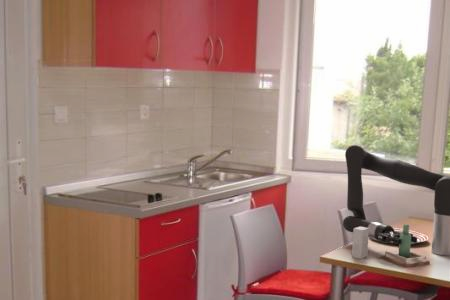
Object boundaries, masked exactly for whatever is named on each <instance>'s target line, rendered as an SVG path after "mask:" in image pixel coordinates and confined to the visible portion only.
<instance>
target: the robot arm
mask: <svg viewBox="0 0 450 300" xmlns="http://www.w3.org/2000/svg"><path fill="white" fill-rule="evenodd" d="M344 156H345V162H346V169H347V171H346V172H347V197H346V198H347V199H346V200H347V201H346V202H347V203H346V207H347V210H348V211H349V212H352V214H353V215H349V216H348V215H347V216H346V217H345V218H344V219H342V220H343V221H342V226H343V229H344V230H345V231H347V232H349V233H353V229H354V228H357V227H366V228H369V234H368V238H371V240H372V239H373V240H375V241H378V242H381V243H384V244H389V242H391V243H390V244H394V243H397V244H396V245H399V244H402V239H400V234H401V233H403V231H401V232H398V231H394V229H393V228H394V227H393V226H391V225H389V224H385V223H381V222H378V221H377V222H375V221H374V220H373V221H372V220H369V219H367V217H366V213H365V210H364V189H363V187H364V186H363V179H362V178H363V177H362V169H363V170H367V171H371V172H374V173H377V174H379V175H381V176H383V177H386V178H388V179H391V180H393V181H396V182H399V183H403V184H405V185H410V186H417V187H421V188H427V189H429V190H432V191H433V192H434V197H433V198H434V200H433V203H434V204H433V207H434V213H433V224H432V225H433V228H432V239H431V240H432V241H431V253H433V254H436V255H439V256H440V255H441V256H450V176H449V175H445V174H441V173H435V172H432V171H429V170H427V169H425V168H422V167H420V166H418V165H414V164H412V163H409V162H407V161H403V160H400V159H396V158H389V157H383V156H379V155H376V154H373V153H371V152H368V151H366V150H365V148H363V147H362V146H361V145H358V144H351V145H349V147H347V149H346V151H345V154H344ZM409 234H411V233H409ZM411 242H414V243H416V244H418V243H417V237H414V236H413V234H411Z"/></svg>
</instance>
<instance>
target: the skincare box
mask: <svg viewBox="0 0 450 300" xmlns="http://www.w3.org/2000/svg"><path fill="white" fill-rule="evenodd" d="M352 233H353V235H352V246H351V247H352V249H351V250H352V251H351V257H352V258H355V259H360V260H361V259H363V258H365V257H368V248H369V247H368V246H369V237H368V234H369V228H366V227H357V228H354V229H353V232H352Z"/></svg>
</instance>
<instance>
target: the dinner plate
mask: <svg viewBox="0 0 450 300" xmlns="http://www.w3.org/2000/svg"><path fill="white" fill-rule="evenodd" d="M392 228H393V229H394V231H398V232H401V231H403V228H396V227H392ZM409 233H411V234H413V236H414V237H417V243H414V242H411V245H415V244H419V243H424V242H427V241H428V240H429V237H428V236H427V235H426V234H423V233H420V232H417V231H414V230H410V229H409ZM389 243H390V244H392V243H391V242H389ZM389 243H388V244H389ZM393 244H396V245H398V244H397V243H393Z"/></svg>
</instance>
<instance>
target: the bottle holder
mask: <svg viewBox="0 0 450 300" xmlns="http://www.w3.org/2000/svg"><path fill="white" fill-rule="evenodd" d="M398 254H399V253H392V252H390V251H386V252H385V255H384V254H383V255H378V259H380V260H383V261H386V262H388V263H391V264H392V265H397V266H399V267H402V268H410V267H419V266H424V265H425V266H426V265H430V263H431V261H429V260H427V256H424V255H421V254H418V253H416V252H415V253H414V252H412V251H410V258H405V257H402V256H399V255H398Z"/></svg>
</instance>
